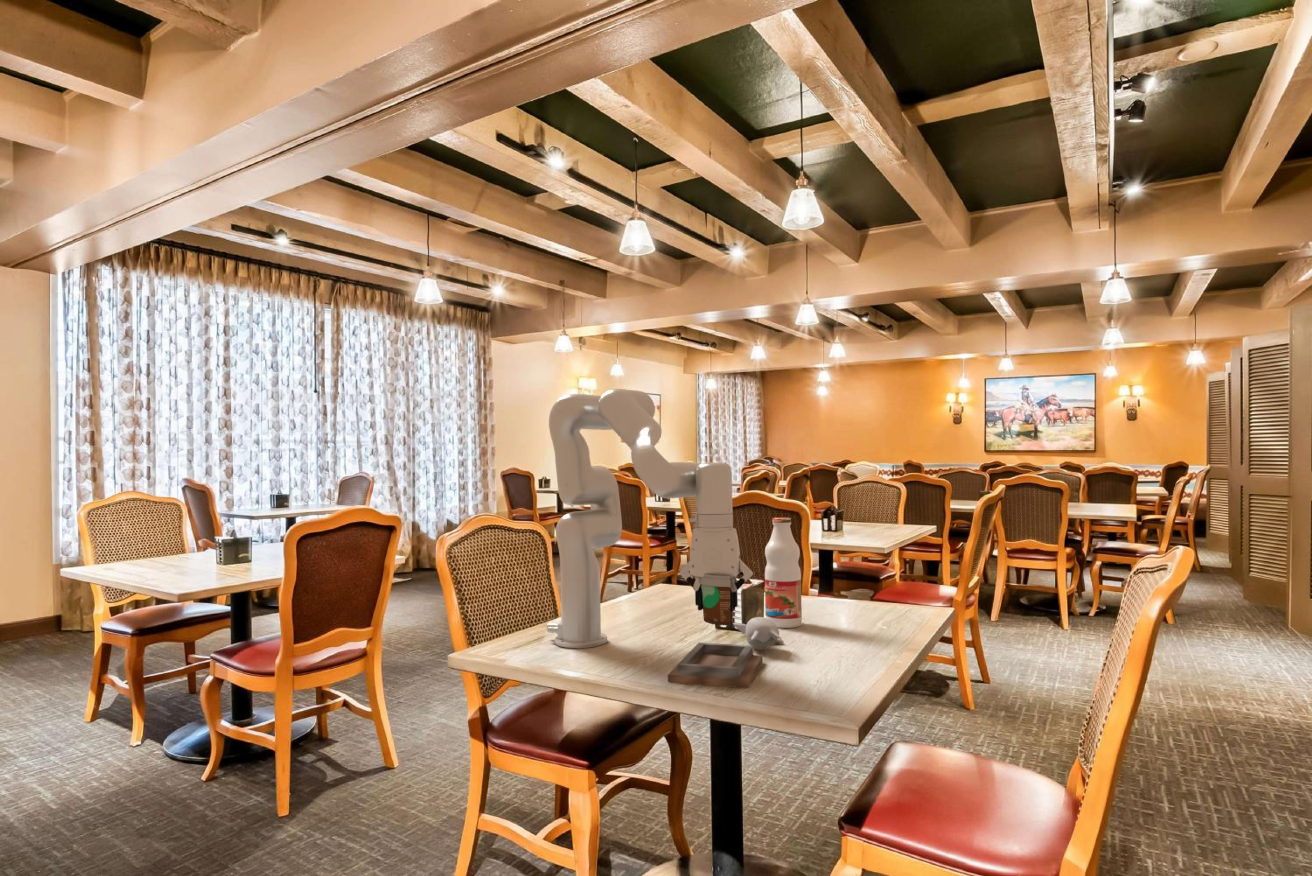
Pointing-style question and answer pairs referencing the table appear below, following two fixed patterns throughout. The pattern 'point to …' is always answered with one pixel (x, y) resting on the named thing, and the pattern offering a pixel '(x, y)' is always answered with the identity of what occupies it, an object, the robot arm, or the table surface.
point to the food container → (716, 599)
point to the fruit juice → (783, 577)
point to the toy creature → (760, 632)
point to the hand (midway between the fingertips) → (716, 609)
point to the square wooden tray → (717, 666)
